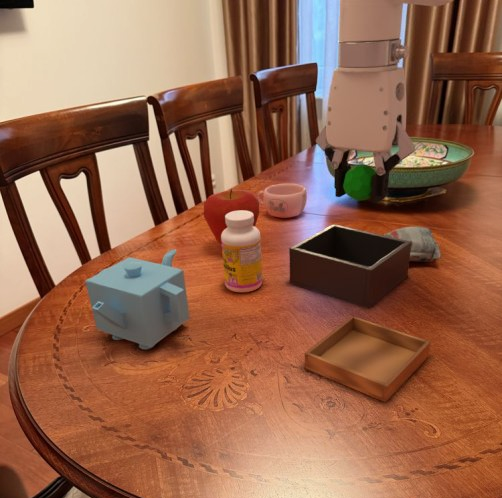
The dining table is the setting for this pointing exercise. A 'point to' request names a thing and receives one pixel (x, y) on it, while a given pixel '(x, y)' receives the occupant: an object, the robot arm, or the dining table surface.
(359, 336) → the tray
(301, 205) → the mug
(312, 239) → the dark brown open box
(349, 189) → the polyhedron
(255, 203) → the apple
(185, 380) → the dining table surface
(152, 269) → the teapot
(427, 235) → the packaged food
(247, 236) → the supplement bottle
